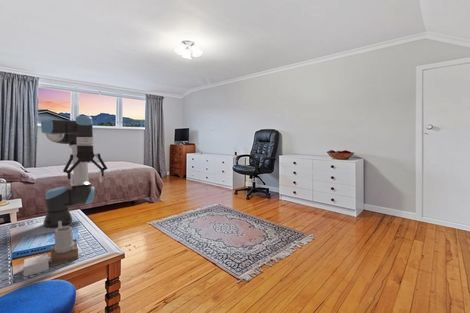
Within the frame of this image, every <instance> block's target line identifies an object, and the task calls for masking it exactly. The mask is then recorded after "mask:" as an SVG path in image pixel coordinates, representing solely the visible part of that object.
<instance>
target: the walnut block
mask: <svg viewBox="0 0 470 313" xmlns="http://www.w3.org/2000/svg"><path fill="white" fill-rule="evenodd" d="M73 242H74V248H73V249H71V250H70V251H67V252H63V253H62V252H61V253H56V252H55V250H54V246H55V245H53V246H50V247H49V248H50V262H51V263H50V264H51V267H52V266H53V267H54V266H56V265H60V264H64V263H67V262H68V263H69V262H71V261H75V260H78V259H79V248H78V244H77V242H76V241H75V240H73Z"/></svg>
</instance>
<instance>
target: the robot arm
mask: <svg viewBox="0 0 470 313" xmlns="http://www.w3.org/2000/svg"><path fill="white" fill-rule="evenodd" d="M40 128H41V129H40V130H41V133H43V134H45V136H46V138H47V139H48V140H49V141H51V142H52V143H56V144H60V145H61V144H62V145H68V147H69V148H70V149H71V154H69V159H68V161H67V162H66V164H65V166H64V168H63V170H62V172H63V173H66V174H67V180H69V182H70V186H71V188H68V186H58V187H55V188H52V189H49V190H47V191H46V192H45V206H46V207H45V208H46V215H45V217H44V220H43V228H58V222H59V221H61V223H62V227H64V226H66V225H69V224H71V223H72V222H73V217H72V214H71V213H70V210H69V209H70V208H69V207H74V206H80V205H81V206H83V205H89V204H92V203H93V201H94V199H95V186H93V185H92V183H91V182H89V164H88V163H90V162H92V163H93V165H95V166H96V167H97V168H98V169H99V171H98V176H99V177H98V178H99V180H98V181H99V183H101V184H102V183H103V177H104V176H105V174H104V173H105V170H108V167H107V165H106V164H105V162H104V161H103V158H102V156H101V153H99V152H98V153H94V138H93V137H94V134H93V118H92V117H91V116H88V115H77V116H76V117H75V120H73V119H71V120H69V119H67V120H66V119H63V120H62V119H50V118H47V119H44V118H43V119H41V120H40ZM95 157H96V159H98V161H99V163H100V164H101V165H100V164H99V163H97V162H96V161H95V159H94V158H95ZM71 163H72V166H71V167H70V165H71ZM69 167H70V168H69Z"/></svg>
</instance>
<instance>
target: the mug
mask: <svg viewBox="0 0 470 313" xmlns="http://www.w3.org/2000/svg"><path fill="white" fill-rule="evenodd" d="M53 236H54V237H53V238H54V245H53V246H54V250H55V252H56V253H61V252H62V253H63V252H67V251H70V250H71V249H73V248H74V232H73V228H72V226H69V225H68V226H66V225H64V226H62V223H61V221H59V222H58V227H56V229H55V230H54V235H53Z"/></svg>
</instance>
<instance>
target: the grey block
mask: <svg viewBox="0 0 470 313" xmlns="http://www.w3.org/2000/svg"><path fill="white" fill-rule="evenodd" d="M22 269H23V277H28V276H31V275H35V274H38V273H42V272H46V271H49V270H50V269H49V254H48V253H45V254H41V255H37V256H32V257H28V258H25V259H24V260H23V267H22Z"/></svg>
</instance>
